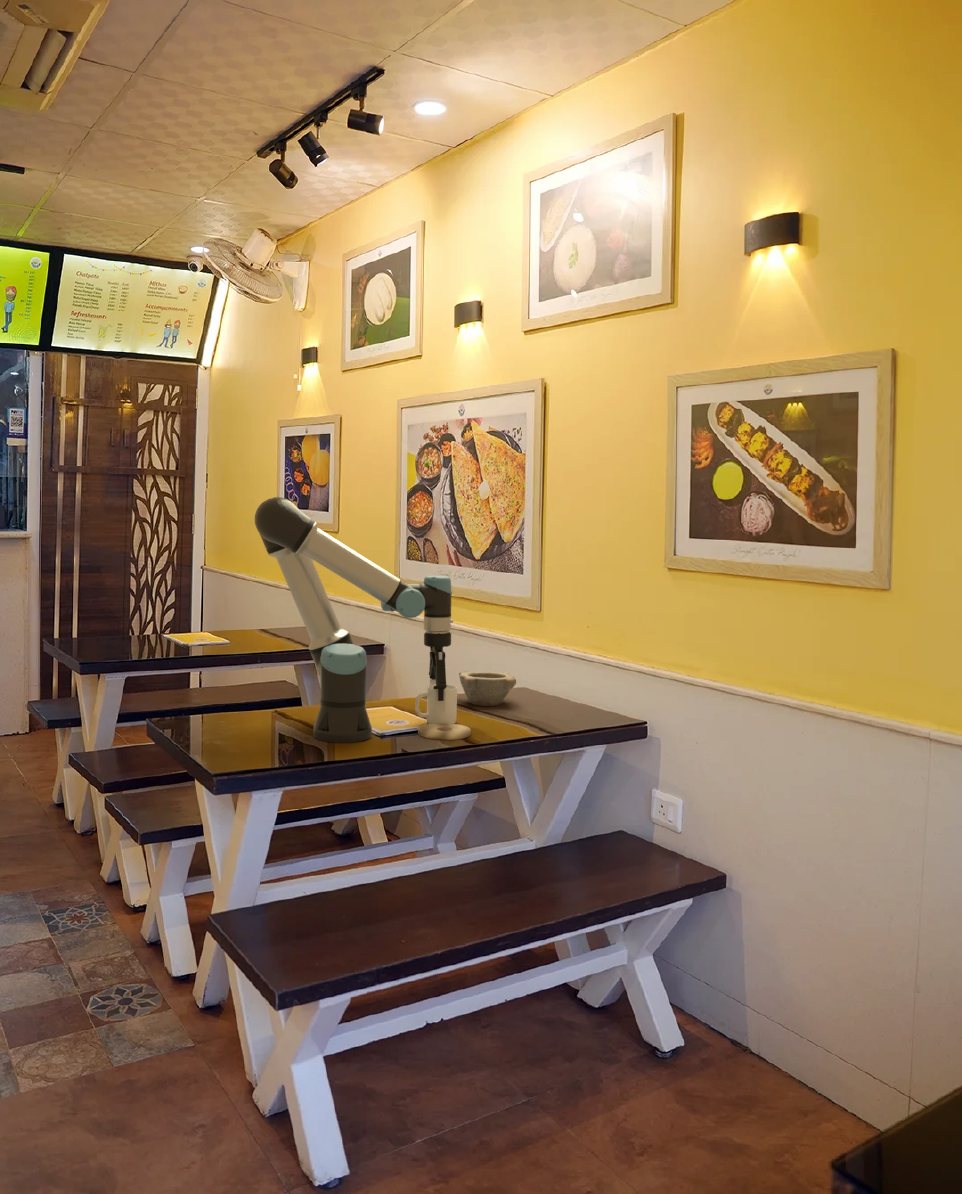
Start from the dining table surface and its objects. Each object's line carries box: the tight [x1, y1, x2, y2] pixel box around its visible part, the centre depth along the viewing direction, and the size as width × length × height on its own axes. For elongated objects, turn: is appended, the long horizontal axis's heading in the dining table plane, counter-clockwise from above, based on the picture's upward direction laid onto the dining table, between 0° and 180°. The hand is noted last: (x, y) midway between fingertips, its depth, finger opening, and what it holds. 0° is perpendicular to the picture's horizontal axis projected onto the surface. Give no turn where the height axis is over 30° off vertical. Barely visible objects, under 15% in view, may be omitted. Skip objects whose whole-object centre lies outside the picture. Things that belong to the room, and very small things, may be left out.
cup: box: [414, 683, 458, 724], centre depth 279 cm, size 8×12×10 cm
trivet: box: [417, 723, 472, 741], centre depth 267 cm, size 14×14×1 cm
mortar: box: [458, 670, 517, 707], centre depth 309 cm, size 17×17×9 cm
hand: (437, 707), depth 279 cm, fingers open, 13 cm apart
